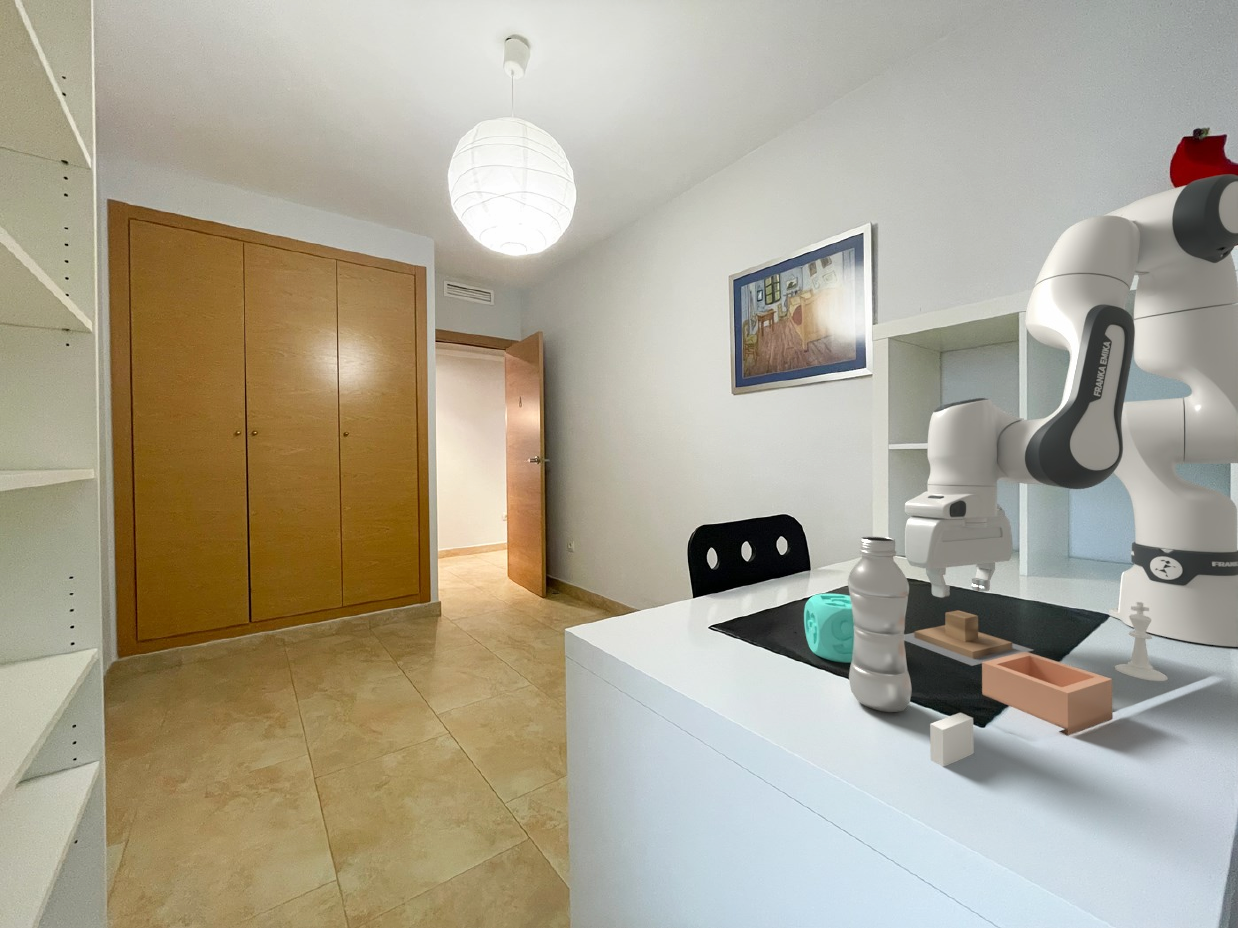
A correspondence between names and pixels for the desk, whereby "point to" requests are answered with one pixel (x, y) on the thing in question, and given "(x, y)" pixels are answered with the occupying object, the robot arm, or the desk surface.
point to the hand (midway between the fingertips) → (961, 593)
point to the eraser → (951, 739)
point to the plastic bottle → (879, 628)
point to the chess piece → (1140, 649)
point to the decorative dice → (830, 626)
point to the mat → (963, 658)
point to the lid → (963, 636)
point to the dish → (1049, 690)
